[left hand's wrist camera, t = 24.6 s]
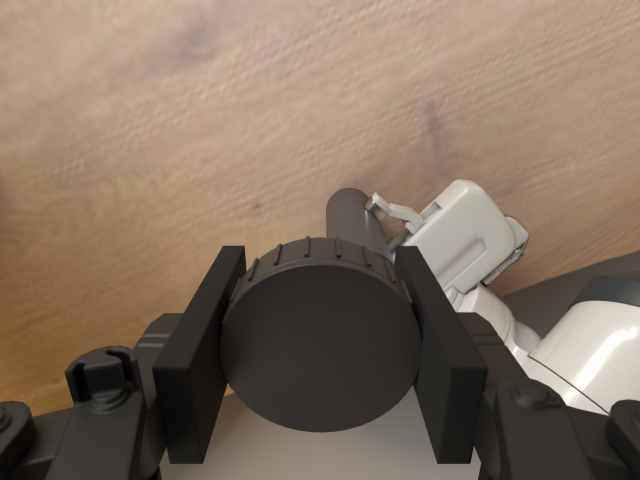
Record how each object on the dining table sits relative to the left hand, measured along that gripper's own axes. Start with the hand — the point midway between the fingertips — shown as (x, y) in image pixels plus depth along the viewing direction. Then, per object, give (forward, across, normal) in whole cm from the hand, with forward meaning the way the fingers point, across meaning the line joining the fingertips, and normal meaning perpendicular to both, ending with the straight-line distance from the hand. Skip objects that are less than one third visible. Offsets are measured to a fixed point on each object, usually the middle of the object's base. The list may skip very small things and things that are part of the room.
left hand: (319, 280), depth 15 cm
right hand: (+20, +2, -5) cm, 21 cm away
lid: (-4, 0, 0) cm, 4 cm away
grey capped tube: (+26, +3, -6) cm, 27 cm away
